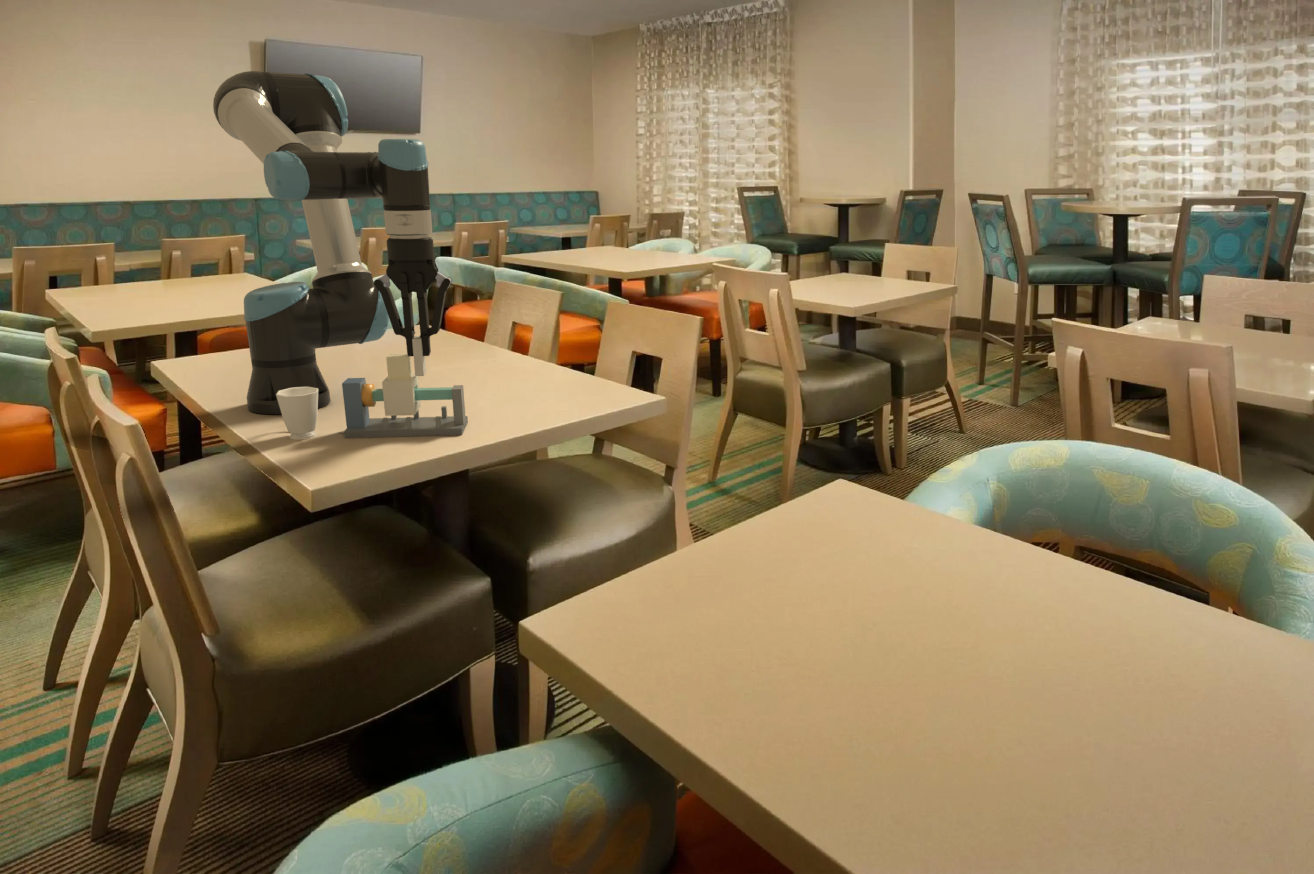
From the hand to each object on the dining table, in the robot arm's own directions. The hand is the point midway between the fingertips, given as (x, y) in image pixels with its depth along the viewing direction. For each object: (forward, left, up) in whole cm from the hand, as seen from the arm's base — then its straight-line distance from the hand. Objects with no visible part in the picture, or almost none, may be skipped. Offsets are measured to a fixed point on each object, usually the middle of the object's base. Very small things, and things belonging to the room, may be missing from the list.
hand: (420, 374), depth 153 cm
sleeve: (-2, -3, -7) cm, 7 cm away
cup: (-10, -19, -10) cm, 24 cm away
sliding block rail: (-1, -3, -10) cm, 10 cm away
